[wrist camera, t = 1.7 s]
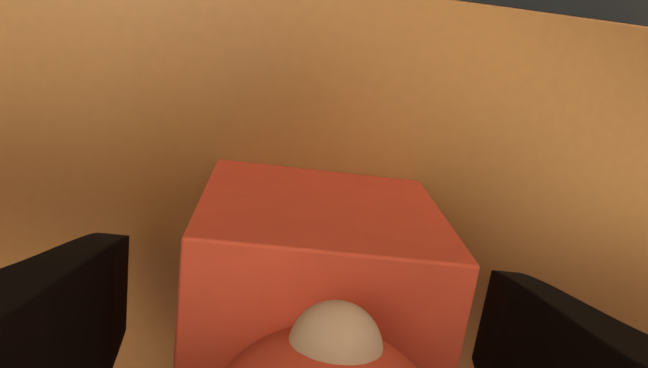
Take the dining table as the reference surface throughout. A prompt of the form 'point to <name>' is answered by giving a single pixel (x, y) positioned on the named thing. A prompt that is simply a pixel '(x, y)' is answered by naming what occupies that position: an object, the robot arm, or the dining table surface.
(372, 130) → the shelf
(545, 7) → the dining table surface
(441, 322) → the orange box
